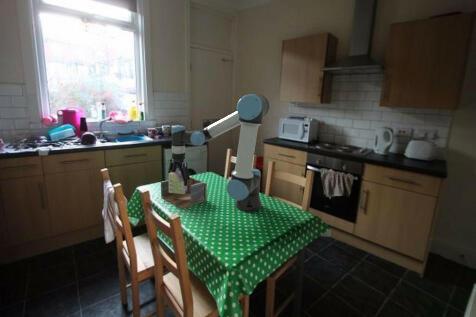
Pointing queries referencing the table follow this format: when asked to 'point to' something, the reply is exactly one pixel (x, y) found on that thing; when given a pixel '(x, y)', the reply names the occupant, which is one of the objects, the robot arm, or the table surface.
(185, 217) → the table surface
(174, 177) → the box
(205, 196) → the grey brown open container
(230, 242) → the table surface
